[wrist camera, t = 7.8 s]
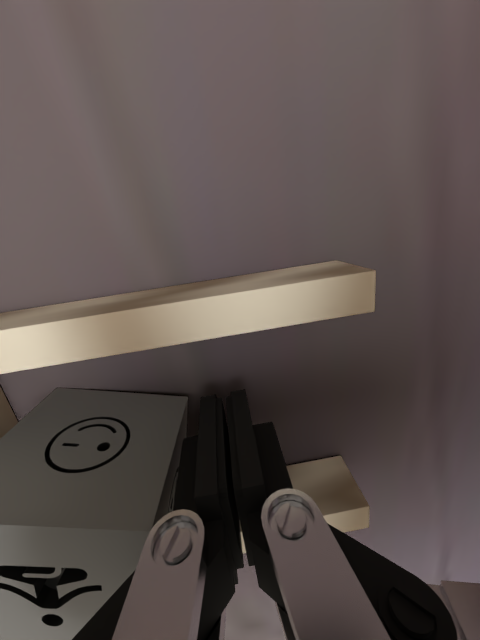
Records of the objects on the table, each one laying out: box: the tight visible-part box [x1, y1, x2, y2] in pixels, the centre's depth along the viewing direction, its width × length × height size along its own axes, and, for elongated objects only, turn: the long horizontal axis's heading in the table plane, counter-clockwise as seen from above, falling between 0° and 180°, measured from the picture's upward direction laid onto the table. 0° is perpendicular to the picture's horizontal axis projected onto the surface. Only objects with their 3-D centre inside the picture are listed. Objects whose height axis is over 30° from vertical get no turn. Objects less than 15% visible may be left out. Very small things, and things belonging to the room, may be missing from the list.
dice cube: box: [0, 388, 188, 640], centre depth 9 cm, size 5×5×5 cm
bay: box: [0, 260, 376, 553], centre depth 10 cm, size 14×10×2 cm
